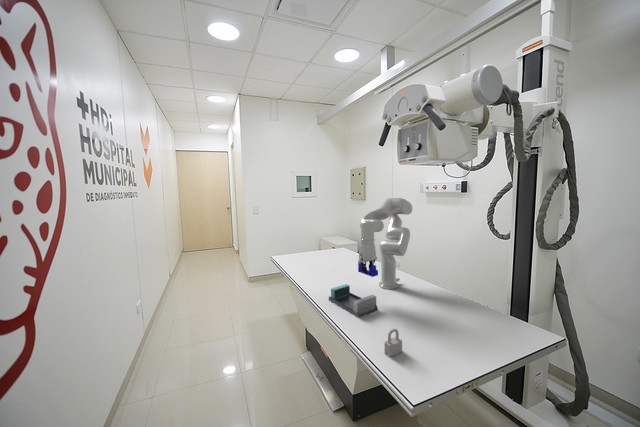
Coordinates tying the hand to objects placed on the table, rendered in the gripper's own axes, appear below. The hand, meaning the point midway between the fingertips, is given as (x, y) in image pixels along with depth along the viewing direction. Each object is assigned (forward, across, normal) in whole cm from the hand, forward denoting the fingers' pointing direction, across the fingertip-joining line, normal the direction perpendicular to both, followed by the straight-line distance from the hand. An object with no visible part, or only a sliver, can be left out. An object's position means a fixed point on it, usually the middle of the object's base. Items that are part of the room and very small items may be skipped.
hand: (367, 271), depth 156 cm
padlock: (+18, +27, +42) cm, 54 cm away
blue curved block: (+1, 0, 0) cm, 1 cm away
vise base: (+18, +12, -1) cm, 21 cm away
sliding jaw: (+16, +12, -12) cm, 23 cm away
